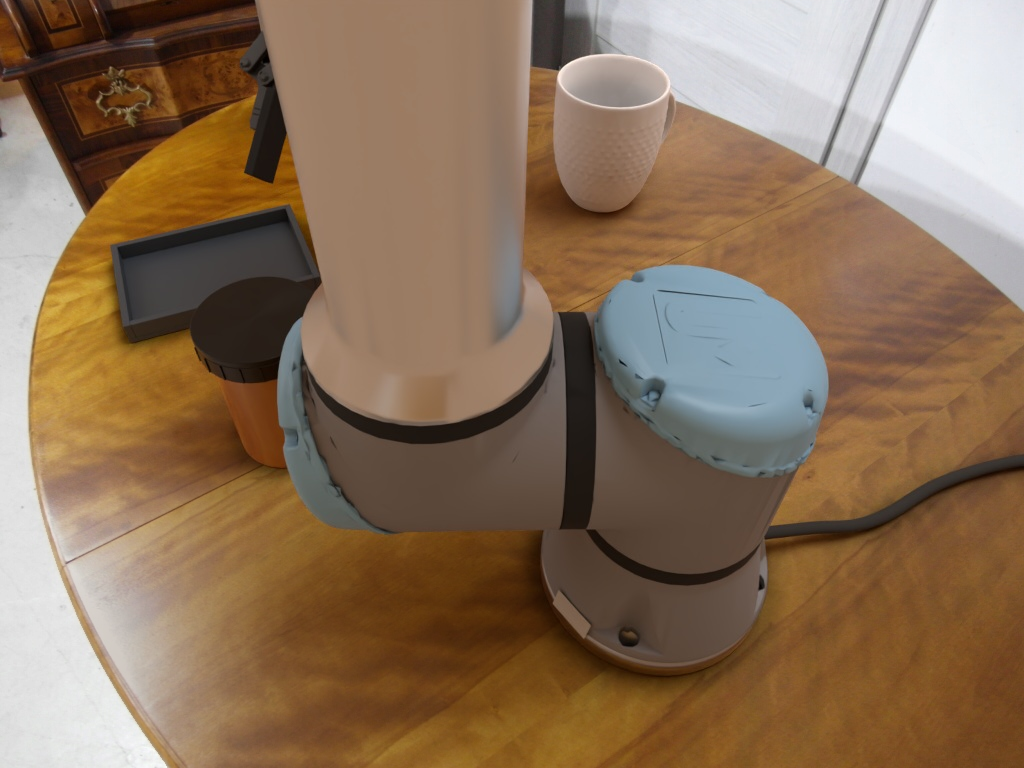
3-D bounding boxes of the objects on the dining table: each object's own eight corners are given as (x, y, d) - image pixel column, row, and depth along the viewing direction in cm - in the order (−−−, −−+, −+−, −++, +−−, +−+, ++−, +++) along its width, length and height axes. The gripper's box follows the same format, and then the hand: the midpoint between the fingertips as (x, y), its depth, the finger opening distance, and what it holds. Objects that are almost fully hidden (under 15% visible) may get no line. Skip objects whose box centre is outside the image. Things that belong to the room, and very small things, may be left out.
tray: (293, 219, 80) (289, 203, 78) (324, 292, 72) (320, 276, 71) (117, 261, 75) (109, 244, 74) (131, 343, 68) (122, 327, 66)
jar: (325, 382, 65) (299, 276, 56) (350, 449, 60) (326, 344, 52) (233, 409, 63) (191, 303, 54) (252, 481, 58) (209, 377, 50)
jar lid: (308, 284, 58) (303, 263, 56) (339, 361, 53) (334, 341, 51) (188, 315, 55) (180, 294, 54) (209, 400, 50) (200, 379, 49)
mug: (626, 144, 90) (642, 32, 81) (696, 188, 85) (723, 72, 75) (528, 189, 84) (532, 73, 74) (597, 239, 78) (612, 121, 69)
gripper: (591, -33, 55) (503, 254, 58) (297, -87, 62) (228, 172, 64) (570, -93, 48) (470, 237, 50) (239, -148, 55) (164, 147, 57)
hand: (334, 201), depth 57 cm, fingers open, 13 cm apart
